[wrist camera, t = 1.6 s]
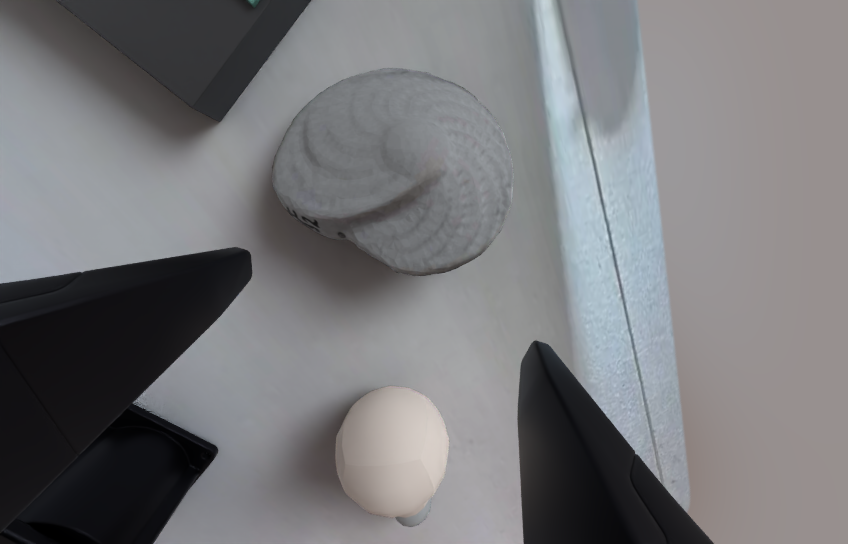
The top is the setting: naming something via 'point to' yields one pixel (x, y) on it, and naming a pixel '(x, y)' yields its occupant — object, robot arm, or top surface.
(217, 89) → the scale
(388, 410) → the light bulb
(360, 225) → the seashell
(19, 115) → the top surface
